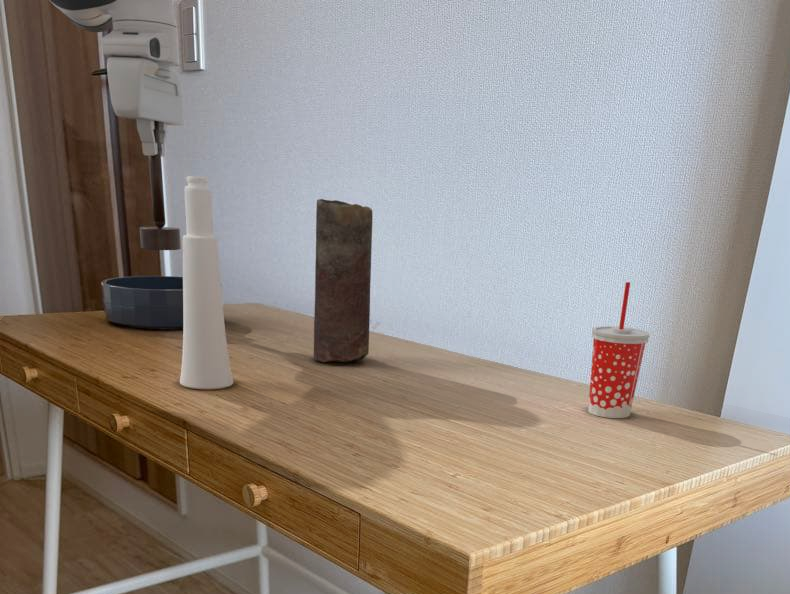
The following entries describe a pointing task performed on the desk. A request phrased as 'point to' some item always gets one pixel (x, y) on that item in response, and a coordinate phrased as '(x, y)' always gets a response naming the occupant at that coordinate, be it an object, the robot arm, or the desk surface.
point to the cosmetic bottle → (202, 296)
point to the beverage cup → (615, 367)
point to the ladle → (158, 208)
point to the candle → (342, 281)
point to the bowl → (144, 301)
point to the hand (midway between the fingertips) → (154, 156)
